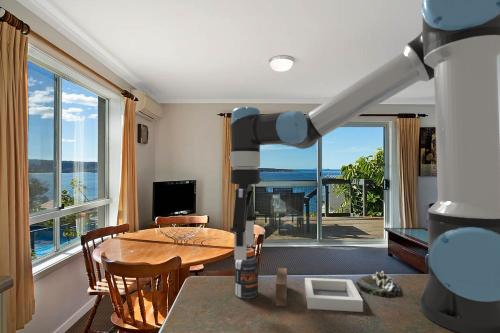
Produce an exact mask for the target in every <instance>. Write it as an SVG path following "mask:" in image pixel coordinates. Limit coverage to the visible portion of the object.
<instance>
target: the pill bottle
mask: <svg viewBox="0 0 500 333" xmlns="http://www.w3.org/2000/svg"><path fill="white" fill-rule="evenodd" d="M234 294H235V295H236V296H237V297H238V298H241V299H252V298H255V297H256V296H257V295H258V294H259V260H258V259H257V257H256V256H255V249H254V248H250V247H246V260H234Z"/></svg>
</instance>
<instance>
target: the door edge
mask: <svg viewBox="0 0 500 333" xmlns="http://www.w3.org/2000/svg"><path fill="white" fill-rule="evenodd" d="M276 270H277V273H276V279H275V280H276V281H275V306H276V307H287V298H288V295H287V294H288V293H287V291H288V278H287V277H288V275H287V274H288V273H287V272H288V271H287V270H288V268H287V267H277V269H276Z"/></svg>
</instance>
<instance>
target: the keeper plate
mask: <svg viewBox="0 0 500 333" xmlns="http://www.w3.org/2000/svg"><path fill="white" fill-rule="evenodd" d="M304 291H305V298H306V306H307V309H308V310H309V309H310V310H322V311H323V310H324V311H325V310H326V311H338V312H339V311H343V312H345V311H346V312H358V313H359V312H360V313H364V299H363V298H362V296H361V295H360V293H359V290H358V289H357V287H356V286H355V284H354V282H353V280H352V279H345V278H344V279H341V278H322V277H321V278H320V277H319V278H318V277H317V278H316V277H304Z"/></svg>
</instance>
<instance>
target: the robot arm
mask: <svg viewBox="0 0 500 333" xmlns="http://www.w3.org/2000/svg"><path fill="white" fill-rule="evenodd" d="M422 1H423V2H422V3H421V7H420V8H421V9H420V11H421V13H420V14H421V17H422V31H421V32H420V33H419V35H417V36H416V37H415V38H414V39H413V40H411V41H409V42H408V43H407V44H405V45H404V47H403V50H402V52H401V53H399V54H398V55H396V56H394V57H392V58H391V59H390V60H388V61H387V62H385V63H384V64H382V65H381V66H379V67H378V68H376V69H374V70H373V71H371V72H370V73H368V74H367V75H365V76H364V77H362V78H360V79H359V80H357V81H356V82H354V83H353V84H351V85H349V86H348V87H347V88H344V90H342V91H340V92H338V93H337V94H336V95H334V96H332V97H331V98H329V99H328V100H326V101H325V102H322V103H321V104H320V105H319V106H317V107H315V108H313V109H312V110H310V111H309V112H307V113H306V114H304V112H302V111H299V110H293V111H290V110H286V111H281V112H274V113H266V114H261V111H260V109H258V108H257V107H253V106H245V107H244V106H240V107H236V108H234V109H233V110H232V112H231V119H230V144H231V145H230V147H231V148H230V151H231V152H230V155H229V156H228V159H229V160H230V167H232V168H233V169H231V170H230V183H231V184H233V185H238V188H236V189H235V190H234V191H235V198H234V199H235V200H234V207H233V221H232V227H231V228H230V232H231V233H232V232H233V233H234V240H233V241H234V243H233V244H234V245H233V246H234V249H233V251H234V252H233V255H234V259H233V260H234V261H235V260H246V248H247V245H251V246H253V245H254V244H255V243H254V242H255V240H254V239H255V237H254V236H255V233H254V232H255V223H254V222H255V221H257V216H255V215H256V214H255V202H254V200H255V199H254V195H255V194H254V193H255V192H254V186H253V185H258V184H260V182H261V172H260V169H259V168H260V167H261V151H260V150H261V146H265V145H282V146H286V147H287V146H288V147H293V148H296V149H302V150H305V149H309V148H312V147H314V146H315V145H316V144H317V142H318V141H319V140H320V139H321V138H323V137H325V136H326V135H328V134H329V133H331V132H333V131H334V130H336V129H338V128H339V127H342V126H343V125H346V124H347V123H348V122H350V121H352V120H353V119H355V118H358V117H359V116H360V115H362V114H365V113H366V112H368V111H369V110H371V109H372V108H375V107H377V106H378V105H380V104H382V103H383V102H385V101H387V100H389V99H390V98H393V97H395V95H397V94H399V93H401V92H402V91H404V90H405V89H407V88H409V87H411V86H412V85H414V84H416V83H418V82H420V81H421V82H428V81H430V80H434V110H435V111H434V113H435V144H436V146H435V150H436V176H437V177H436V178H437V180H436V182H437V200H436V202H435V203H434V204H432V205H431V206H430V207H429V208H428V209H427V217H426V223H427V247H428V248H427V250H428V252H427V253H428V254H427V255H428V258H427V259H428V277H427V279H426V283H425V284H424V288H423V290H422V292H421V295H420V300H419V302H420V303H419V304H420V305H419V306H420V307H419V308H420V312H421V313H422V314H423V315H424V317H426V318H427V319H428V320H430V321H431V322H433V323H435V324H437V325H438V326H441V327H443V328H445V329H447V330H450V331H453V332H456V333H500V116H499V115H500V111H499V110H500V109H499V84H498V56H499V55H500V0H422Z"/></svg>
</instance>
